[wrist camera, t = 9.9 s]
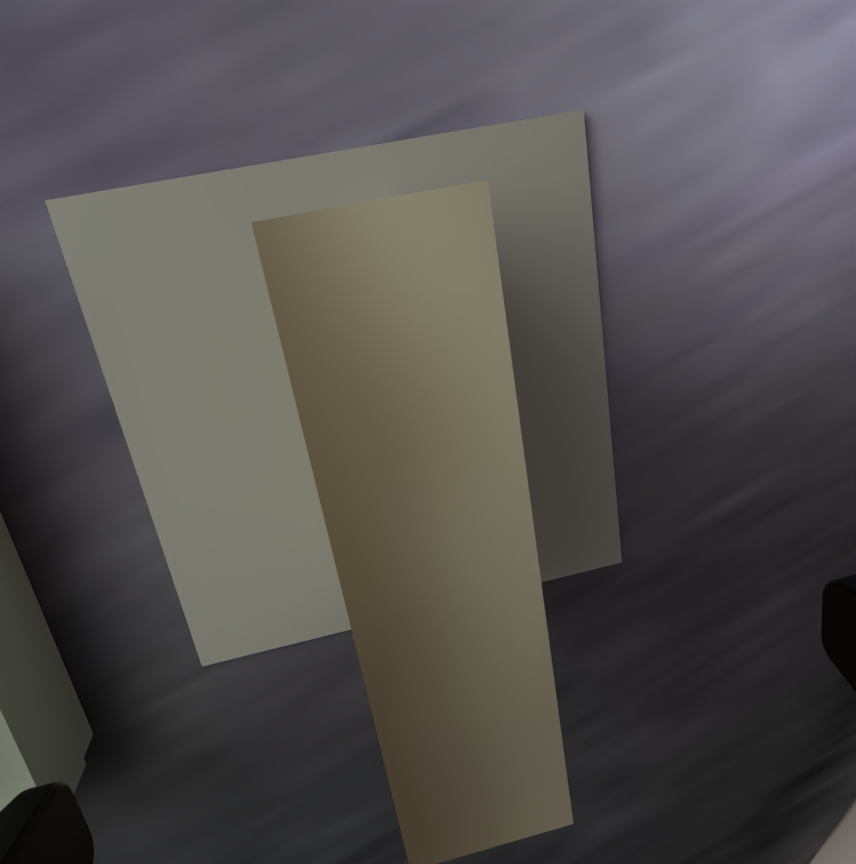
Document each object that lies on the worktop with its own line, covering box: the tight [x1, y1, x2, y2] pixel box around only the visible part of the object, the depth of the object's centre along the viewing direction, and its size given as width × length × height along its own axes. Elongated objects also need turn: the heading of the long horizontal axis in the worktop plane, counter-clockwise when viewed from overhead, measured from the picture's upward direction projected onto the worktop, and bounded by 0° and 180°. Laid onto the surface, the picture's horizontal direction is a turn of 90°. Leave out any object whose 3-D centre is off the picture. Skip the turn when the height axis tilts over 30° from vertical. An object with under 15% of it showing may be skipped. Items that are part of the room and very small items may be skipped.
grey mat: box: [45, 110, 622, 666], centre depth 20 cm, size 14×14×1 cm
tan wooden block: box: [251, 180, 573, 864], centre depth 15 cm, size 3×11×10 cm, turn 10°
